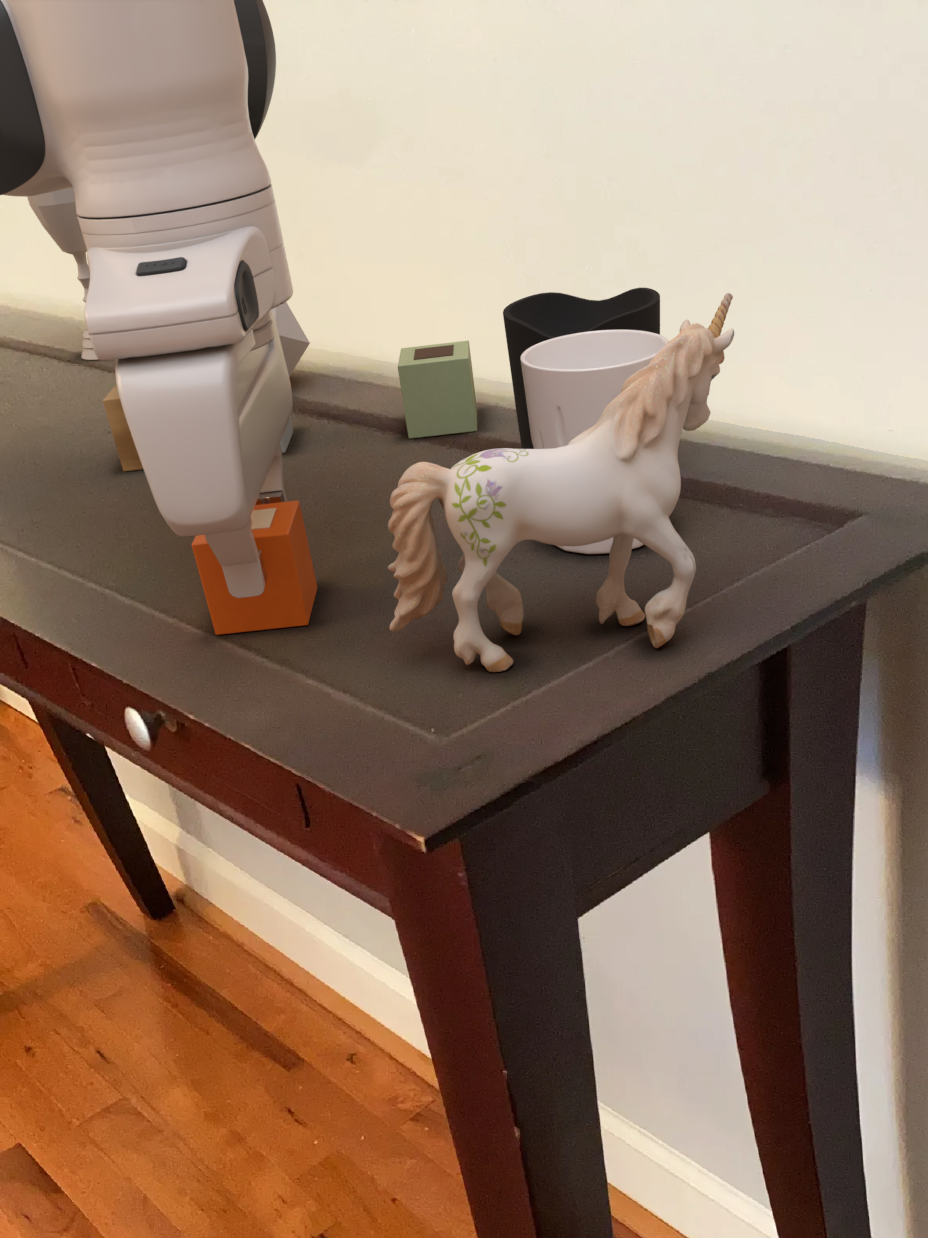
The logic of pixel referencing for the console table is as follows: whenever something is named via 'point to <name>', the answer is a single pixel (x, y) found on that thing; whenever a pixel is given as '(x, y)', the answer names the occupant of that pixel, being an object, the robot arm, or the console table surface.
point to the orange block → (286, 575)
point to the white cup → (581, 387)
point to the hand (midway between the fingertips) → (262, 556)
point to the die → (290, 336)
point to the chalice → (65, 238)
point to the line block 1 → (121, 432)
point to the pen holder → (569, 328)
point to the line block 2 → (438, 389)
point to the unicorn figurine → (564, 502)
